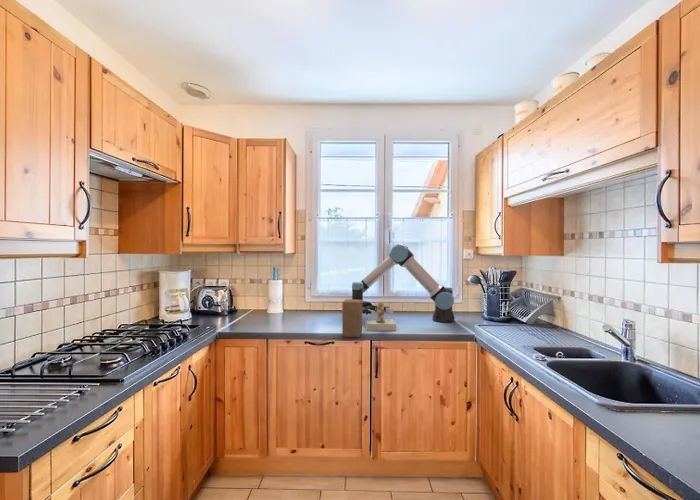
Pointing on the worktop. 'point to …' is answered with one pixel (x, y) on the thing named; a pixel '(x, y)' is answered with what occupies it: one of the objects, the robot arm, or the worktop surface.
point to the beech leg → (380, 312)
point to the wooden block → (352, 318)
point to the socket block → (380, 325)
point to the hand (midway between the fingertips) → (383, 312)
